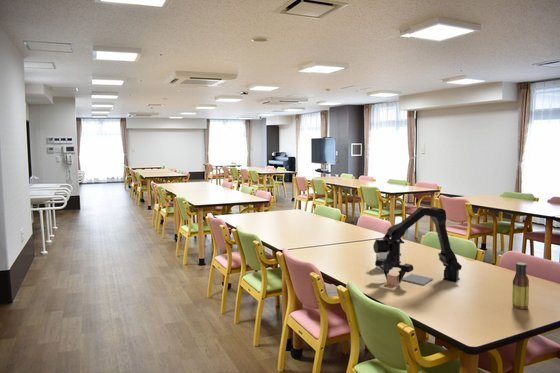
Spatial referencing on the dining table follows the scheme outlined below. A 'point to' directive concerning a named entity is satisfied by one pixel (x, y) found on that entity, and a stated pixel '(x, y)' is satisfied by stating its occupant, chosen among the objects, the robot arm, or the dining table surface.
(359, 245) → the dining table surface
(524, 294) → the sauce bottle
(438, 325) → the dining table surface
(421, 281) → the charcoal mat
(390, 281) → the terracotta cube
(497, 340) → the dining table surface
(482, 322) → the dining table surface
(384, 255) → the ink box
